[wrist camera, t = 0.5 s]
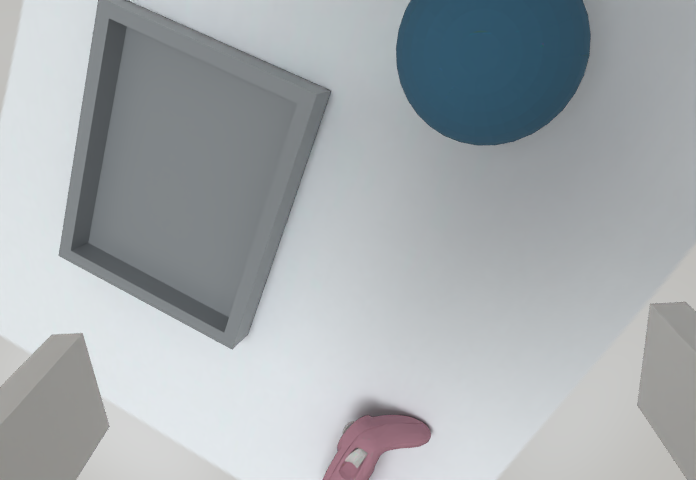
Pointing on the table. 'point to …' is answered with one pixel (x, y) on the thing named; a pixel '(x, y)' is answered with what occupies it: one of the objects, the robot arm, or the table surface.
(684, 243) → the table surface
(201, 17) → the table surface
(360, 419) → the video game controller
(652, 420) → the robot arm
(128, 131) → the tray
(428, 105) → the light bulb
